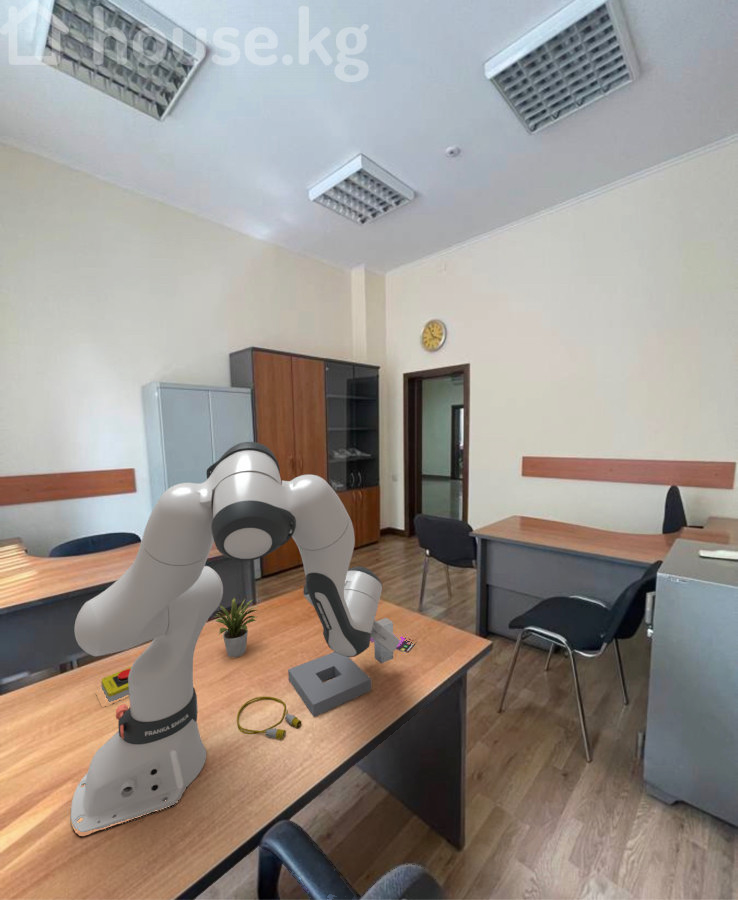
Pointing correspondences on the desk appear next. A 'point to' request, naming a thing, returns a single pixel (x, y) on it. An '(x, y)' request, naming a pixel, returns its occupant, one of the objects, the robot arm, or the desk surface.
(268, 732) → the extension cord
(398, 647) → the smartphone
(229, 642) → the house plant
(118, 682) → the emergency button
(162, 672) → the robot arm
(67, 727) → the desk surface
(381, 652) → the grey square post
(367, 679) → the block
